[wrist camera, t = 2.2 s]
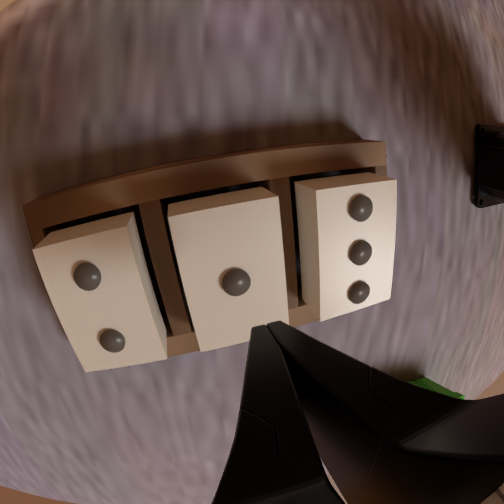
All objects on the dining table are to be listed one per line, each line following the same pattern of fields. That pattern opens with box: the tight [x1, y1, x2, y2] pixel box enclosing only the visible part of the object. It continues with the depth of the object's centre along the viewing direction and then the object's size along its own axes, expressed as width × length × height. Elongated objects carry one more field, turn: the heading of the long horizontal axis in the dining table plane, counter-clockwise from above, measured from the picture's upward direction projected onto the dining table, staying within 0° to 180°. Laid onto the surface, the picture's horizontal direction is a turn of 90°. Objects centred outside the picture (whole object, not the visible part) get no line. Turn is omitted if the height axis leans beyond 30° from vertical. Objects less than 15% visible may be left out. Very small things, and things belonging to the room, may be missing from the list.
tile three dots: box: [294, 172, 397, 322], centre depth 14 cm, size 4×6×2 cm, turn 6°
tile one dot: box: [168, 187, 289, 352], centre depth 13 cm, size 4×6×2 cm, turn 7°
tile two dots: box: [32, 212, 167, 372], centre depth 12 cm, size 4×6×2 cm, turn 6°
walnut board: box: [23, 140, 387, 357], centre depth 15 cm, size 17×9×2 cm, turn 97°
